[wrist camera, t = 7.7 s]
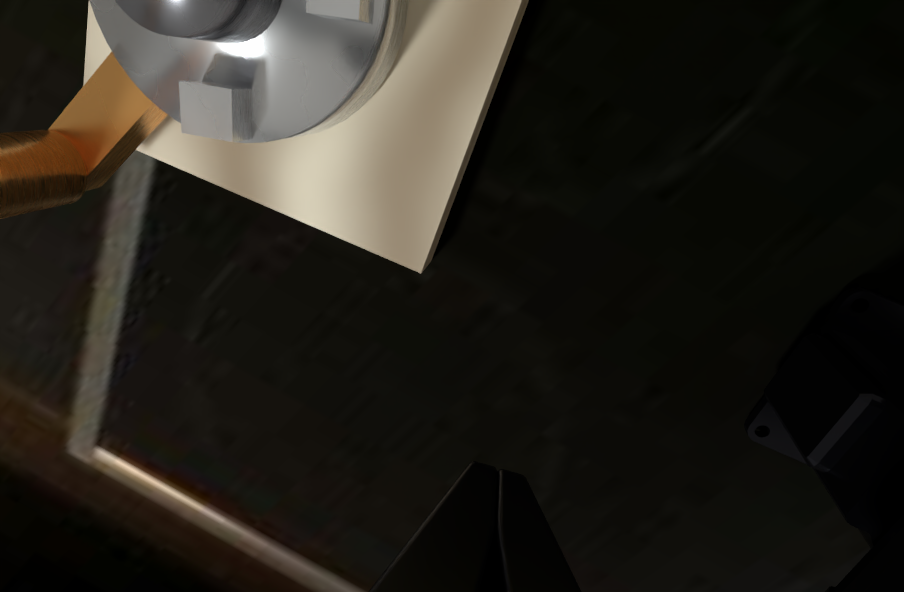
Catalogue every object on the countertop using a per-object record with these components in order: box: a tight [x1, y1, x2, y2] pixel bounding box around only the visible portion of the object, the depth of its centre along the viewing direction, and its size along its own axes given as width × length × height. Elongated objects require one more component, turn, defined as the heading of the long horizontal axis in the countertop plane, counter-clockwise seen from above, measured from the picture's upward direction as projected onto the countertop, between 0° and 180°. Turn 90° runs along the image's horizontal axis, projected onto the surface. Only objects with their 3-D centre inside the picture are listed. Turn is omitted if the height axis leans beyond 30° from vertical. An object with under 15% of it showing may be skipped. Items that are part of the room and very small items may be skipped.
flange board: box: [84, 0, 529, 273], centre depth 18 cm, size 14×13×2 cm
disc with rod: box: [0, 0, 409, 219], centre depth 12 cm, size 15×9×12 cm, turn 127°
